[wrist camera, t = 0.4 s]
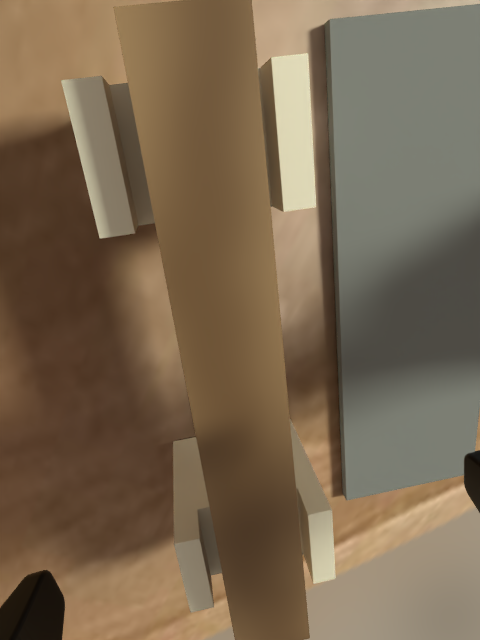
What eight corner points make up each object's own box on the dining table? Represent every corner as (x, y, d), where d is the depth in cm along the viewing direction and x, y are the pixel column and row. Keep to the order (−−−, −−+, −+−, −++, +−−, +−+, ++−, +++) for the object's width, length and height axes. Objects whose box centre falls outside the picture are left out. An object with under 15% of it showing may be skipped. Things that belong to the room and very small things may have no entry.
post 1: (260, 88, 17) (307, 53, 11) (269, 190, 19) (316, 206, 13) (100, 107, 17) (61, 80, 11) (122, 211, 18) (99, 238, 12)
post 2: (290, 418, 23) (331, 509, 17) (295, 476, 25) (335, 578, 19) (173, 441, 23) (173, 544, 17) (185, 499, 24) (190, 612, 18)
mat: (511, 4, 18) (522, -1, 17) (466, 466, 27) (472, 473, 26) (324, 23, 17) (329, 19, 16) (342, 492, 26) (346, 500, 25)
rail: (232, 30, 12) (251, -6, 9) (290, 572, 20) (309, 638, 18) (126, 41, 12) (113, 6, 9) (228, 586, 20) (238, 655, 17)
